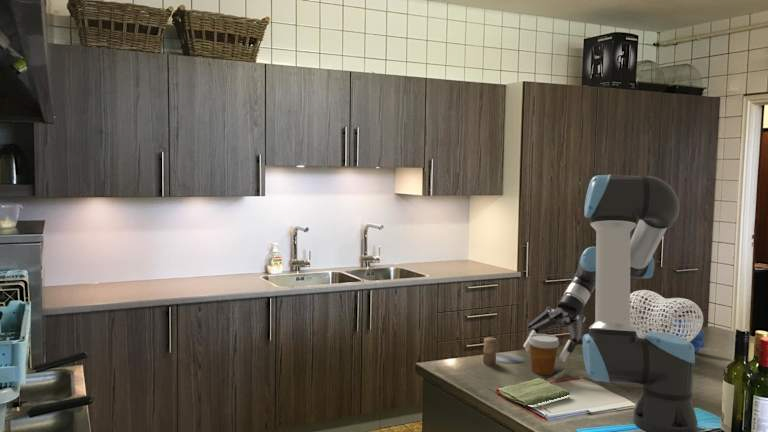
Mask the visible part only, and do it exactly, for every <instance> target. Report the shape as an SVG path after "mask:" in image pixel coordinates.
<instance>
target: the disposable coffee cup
mask: <svg viewBox="0 0 768 432" xmlns="http://www.w3.org/2000/svg"><path fill="white" fill-rule="evenodd" d="M528 342H529V345H530V350H529V355H530V366H531V367H530V368H531V372H533V373H534V374H536V375H542V376H543V375H544V376H545V375H547V376H548V375H551V376H549V377H547V379H551V378H552V377H553V374H554V370H555V364H556V359H557V358H556V357H557V352H558V347H559V345H560V341H559V337H557V336H554V335H551V334H546V333H544V334H543V333H537V334H533V335H531V336H530V338H529V339H528Z"/></svg>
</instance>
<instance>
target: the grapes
mask: <svg viewBox="0 0 768 432" xmlns="http://www.w3.org/2000/svg"><path fill="white" fill-rule="evenodd" d="M688 321H689V319H688ZM674 322H676V323H677V319H675V321H674ZM679 323H681V320H679ZM684 323H685V319H684ZM690 324H691V323H690ZM694 324H695V323H694ZM674 327H677V324H675V325H674ZM679 328H681V324H679ZM682 328H683V324H682ZM684 328H685V325H684ZM686 328H687V325H686ZM688 328H689V325H688ZM690 328H691V325H690ZM693 328H694V326H693ZM672 331H673V330H672ZM674 331H676V329H674ZM694 331H695V330H694ZM678 332H680V330H679V329H678ZM672 333H673V334H675V332H672ZM682 333H684V330H683V331H682ZM686 333H688V330H687V332H686ZM690 333H692V330H691V332H690ZM678 335H679V334H678V333H677V334H676V336H678ZM682 336H683V334H681V335H680V337H682ZM686 336H687V335H685V336H684V337H686ZM694 336H695V335H694ZM689 337H690V335H689ZM704 338H705V333H704V331H703V330H702V329H701V330H700V332H699V333H698V334H697V336H696V337H695V338H694V339H692V340H691V341H690V343H691V344H692V345H693V346H694V352H695V354H697V353H699V351H700V348H701V349H703V348H705V345H706V343H705V341H704V340H703V339H704ZM685 340H687V339H685Z"/></svg>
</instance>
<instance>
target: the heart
mask: <svg viewBox="0 0 768 432" xmlns="http://www.w3.org/2000/svg"><path fill="white" fill-rule="evenodd" d="M642 297H643V298H642ZM646 299H647V300H646ZM644 302H645V303H644ZM636 308H637V309H636ZM687 311H688V313H687ZM683 312H684V313H683ZM703 314H704V313H703V311H702V310H701V308H700V306H699V305H698V304H697V303H696V302H694V301H692V300H690V299H687V298H683V297H671V298H665V297H663V296H662V295H660V294H659V293H658V292H656V291H655V292H654V291H653V290H652V291H651V290H649V289H648V290H647V289H640V290H636V291H633V292H630V324H631V325H632V326H633V327H634V328H635V329H636V337H637V338H645V335H646V333H647V332H662V333H667V334H671V335H675V336H676V334H677V333H678V334H679V335H678V337H680V335H681V334H683V336H682V337H681V338H683V339H687V341H689V342H690V341H691V340H692V339H694V338H695V337H696V336H697V334H698V333H699V332H700V330H701V331H702V328H703V324H704V315H703ZM679 315H680V316H681V317H680V316H679ZM683 315H684V316H683ZM642 317H643V318H642ZM684 319H685V323H684ZM676 320H677V323H676V322H675V321H676ZM688 320H689V321H688ZM679 321H681V323H679ZM690 323H691V324H690ZM694 323H695V324H694ZM675 324H677V327H675V326H674V325H675ZM679 324H681V328H679ZM682 324H683V328H682ZM662 325H663V326H662ZM684 325H685V328H684ZM686 325H687V328H686ZM688 325H689V328H688ZM690 325H691V328H690ZM666 326H667V327H666ZM693 326H694V328H693ZM650 329H651V330H650ZM674 329H676V331H674ZM678 329H679V330H680V332H678ZM672 330H673V331H672ZM683 330H684V333H682V331H683ZM687 330H688V333H686V332H687ZM691 330H692V333H690V332H691ZM694 330H695V331H694ZM668 331H669V332H668ZM672 332H675V334H673V333H672ZM685 335H687V336H686V337H684V336H685ZM689 335H690V337H689ZM694 335H695V336H694Z"/></svg>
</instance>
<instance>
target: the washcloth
mask: <svg viewBox="0 0 768 432" xmlns="http://www.w3.org/2000/svg"><path fill="white" fill-rule="evenodd" d="M497 394H498V395H500V396H501V397H504V398H506V399H509V400H510V401H512V402H515V403H518V404H521V405H523V406H525V405H526V406H525V407H527V406H528V405H535V404H538V403H542V402H545V401H546V402H547V401H549V400H554V399H557V398H561V397H564V396H567V395H571V393H570V391H569V390H568V389H565V388H563V387H560V386H558V385H556V384H552V383H550V382H549V381H547V380H545V379H543V378H540V377H537V378H534V379H531V380H528V381H527V380H526V381H524V382H523V381H522V382H519V383H516V384H513V385H506V386H504V387H502V388H500V389H499V390H498V391H497Z"/></svg>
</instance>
